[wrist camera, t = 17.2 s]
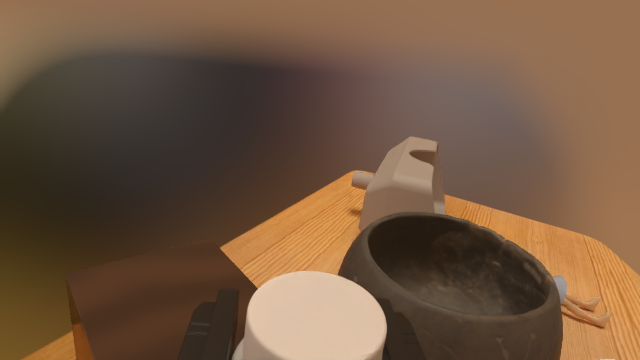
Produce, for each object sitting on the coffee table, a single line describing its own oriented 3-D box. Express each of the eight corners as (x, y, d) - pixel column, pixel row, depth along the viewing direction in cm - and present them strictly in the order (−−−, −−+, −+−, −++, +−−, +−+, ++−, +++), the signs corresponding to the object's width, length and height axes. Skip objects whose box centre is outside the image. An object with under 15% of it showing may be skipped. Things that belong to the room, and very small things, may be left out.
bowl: (560, 397, 34) (620, 281, 29) (443, 538, 23) (509, 387, 18) (407, 285, 46) (432, 192, 42) (285, 342, 36) (300, 223, 31)
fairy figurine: (636, 328, 39) (518, 286, 41) (611, 361, 41) (499, 319, 43) (591, 269, 49) (499, 237, 51) (573, 297, 51) (485, 266, 53)
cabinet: (281, 429, 28) (295, 327, 24) (124, 536, 21) (113, 416, 18) (206, 323, 36) (209, 237, 33) (78, 375, 30) (65, 273, 26)
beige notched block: (363, 188, 75) (374, 127, 70) (445, 208, 71) (463, 145, 66) (325, 247, 52) (339, 162, 48) (443, 282, 48) (470, 193, 44)
